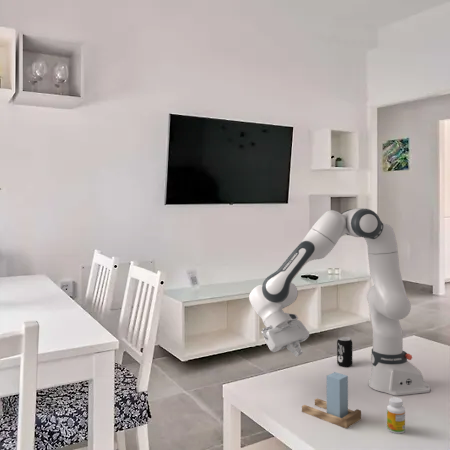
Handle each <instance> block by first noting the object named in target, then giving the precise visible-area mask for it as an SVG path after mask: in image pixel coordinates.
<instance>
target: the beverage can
mask: <svg viewBox="0 0 450 450" xmlns="http://www.w3.org/2000/svg"><path fill="white" fill-rule="evenodd" d="M336 359H337V360H336V363H337V365H338V366H340V367H341V368H349V367H352V365H353V341H352V337H349V336H338V337H337V341H336Z"/></svg>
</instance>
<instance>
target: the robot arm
mask: <svg viewBox="0 0 450 450" xmlns="http://www.w3.org/2000/svg"><path fill="white" fill-rule="evenodd" d="M345 235H347V236H352V237H355V238H363V239H364V240H365V242H366V245H367V256H368V257H367V259H368V269H369V274H370V278H371V279H372V282H373V285H372V286H371V287H370V288H369V289H368V290H367V293H366V301H367V303H368V307H369V308H368V309H369V316H370V322H371V327H372V330H371V331H372V348H371V354H370V360H371V372H370V377H369V379H368V380H369V381H368V383H367V384H368V386H369V388H371V389H373V390H375V391H378V392H382V393H387V394H389V395H391V396H395V397H396V396H397V397H398V396H406V395H414V394H425V393H431V386H430V385H429V384H428V383H427V382H426V381H425V380H424V376H423V374H422V372H421V371H420V369H418V367H416V366H415V365H414V364H413V363H411V361H412V359H413V355H412V354H410V353H407V352H406V351H404V349H403V347H404V345H403V344H404V343H403V342H404V340H403V338H404V337H403V329H402V327H401V322H400V320H403V319H405V318H407V316H409V314H410V312H411V309H412V305H411V302H410V299H409V298H408V296H407V292H406V288H405V284H404V281H403V278H402V275H401V274H402V273H401V268H400V259H399V251H398V243H397V238H396V235H395V231H394V228H393V226H392V225H390V224H388V223H383V222H382V221H381V219H380V217H379V215H378V214H377V213H376V212H375V211H373V210H372V209H369V208H361V207H357V208H356V207H355V208H352V209H351V208H350V209H347V210H345V211H343V212H339V211H337V210H333V209H330V210H326V211H325V212H324V213H323V214H322V215H321V216H320V217H319V218H318V219H317V220H316V222H315V223H314V224H313V225H312V227H311V228H310V230H308V232H307V234H306V235H305V236H304V238H302V241H301V242H299V244H298V245H297V247H296V248H295V249H294V250H293V251H292V252H291V253H290V255H288V257H287V259H286V260H285V261H284V262H283V263H282V264H281V265H280V266H279V268H278V269H277V270H275V271H274V272H272V273H271V274H270V275H268V276H267V277H266V278H265V279H264V281H263V282H262V284H259V285H258V284H257V285H256V286H255V287H253V288H252V290H250V293H249V295H248V296H249V297H248V300H249V303H250V305H251V307H252V309H253V310H254V311H255V313H256V315H257V316H258V317H260V319H261V320H262V324H263V325H264V326H265V327H263V328H262V329H261V335H262V336H263V339H264V341H265V343H266V346H267V347H268V348H269V350H270V352H272V353H276V352H278V351H281V350H284V349H287V351H290V353H292V354H293V355H294V356H295V357H298V356H301V355H303V354H304V352H303V349H302V347H301V344H300V343H302V342H305V341H306V340H307V339H308V338H309V337H310V332H309V331H308V328H306V326H305V324H303V322H302V321H301V320H299V317H298V315H297V314H296V313H289V312H285V311H284V310H283V309H285V308H287V307H289V306H291V305H292V304H294V303H295V302H296V300H297V298H298V295H299V291H298V288H297V286H296V285H295V284H294V283H293V280H294V278H295V277H296V276H297V275H298V274H299V273H300V271H301V270H302V269H303V267H305V266H306V265H307V263H310V262H311V261H314V260H321V259H324V258H325V257H327V256H328V255H329V254H330V253H331V251H333V250H334V247H335V246H336V245H337V244H338V242H339V240H340V239H341V238H342V237H343V236H345Z"/></svg>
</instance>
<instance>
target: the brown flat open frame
mask: <svg viewBox="0 0 450 450" xmlns="http://www.w3.org/2000/svg"><path fill="white" fill-rule="evenodd" d="M314 406H316V407H320V408H322V409H325V410H327V400H323V399H320V398H318V397H317V398H315V399H314ZM301 412H302V413H303V414H304V413H305V414H307V415H309V416H312V417H315V418H318V419H320V420H323V421H325V422H328V423H331V424H332V425H336V426H338V427H341V428H344V429H348V428H350V427H351V426H353V425H354V424H356V423H358V422H359V421H361V420H362V410H360V409H359V408H357V409H355V410H353V409H349V408H348V415H346V416H345V417H343V418H340V417H337V416H334V415H331V414H329V413H327V411H326V412H325V411H324V410H321V409H317V408H315V407H311V406H310V405H307V404H303V405H302V406H301Z"/></svg>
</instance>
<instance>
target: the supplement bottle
mask: <svg viewBox="0 0 450 450" xmlns="http://www.w3.org/2000/svg"><path fill="white" fill-rule="evenodd" d="M403 402H404V401H403V399H402V398H400V397H398V396H397V397H396V396H395V397H394V396H392V397H390V398H389V401H388V405H387V406H386V428H387V429H386V430H388V432H390V433H392V434H397V435H398V434H404V432H405V431H406V408H405V407H404V405H403V404H404V403H403Z"/></svg>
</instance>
